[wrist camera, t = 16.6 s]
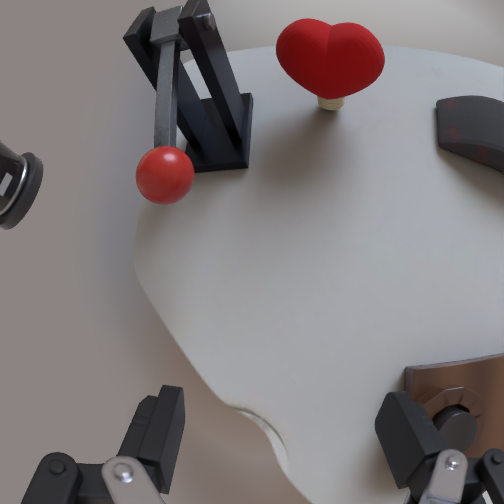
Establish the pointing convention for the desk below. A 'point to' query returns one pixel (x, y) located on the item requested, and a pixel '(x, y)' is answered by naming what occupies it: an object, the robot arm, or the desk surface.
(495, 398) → the button block
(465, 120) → the computer mouse
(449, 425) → the button
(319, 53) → the light bulb
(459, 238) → the desk surface
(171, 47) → the lever
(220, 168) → the bracket
